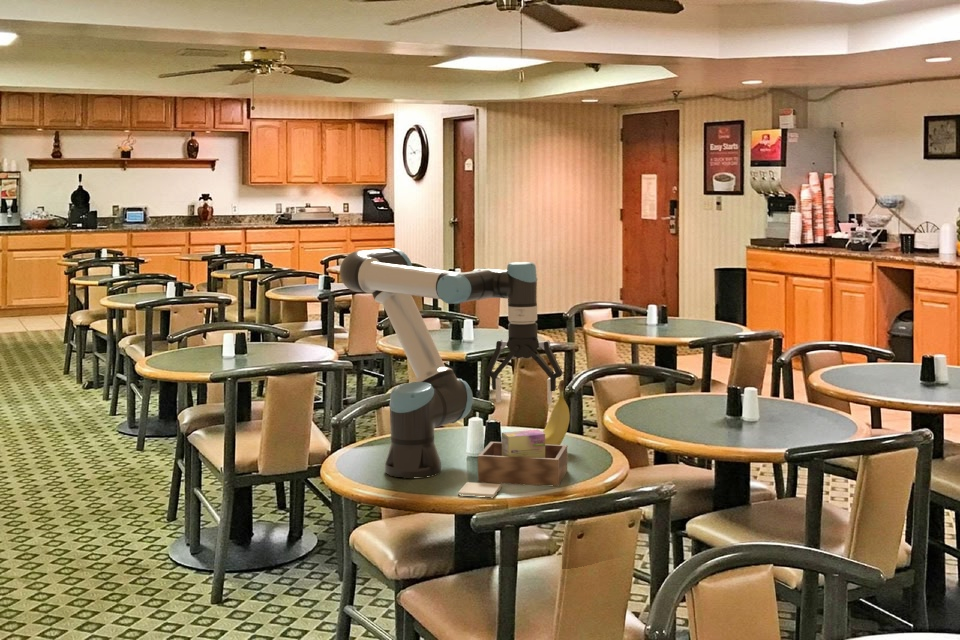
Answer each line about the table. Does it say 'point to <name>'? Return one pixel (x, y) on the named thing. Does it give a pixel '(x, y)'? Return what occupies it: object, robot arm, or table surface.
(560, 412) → the banana
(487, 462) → the crate
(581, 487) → the table surface
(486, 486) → the tile
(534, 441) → the box
